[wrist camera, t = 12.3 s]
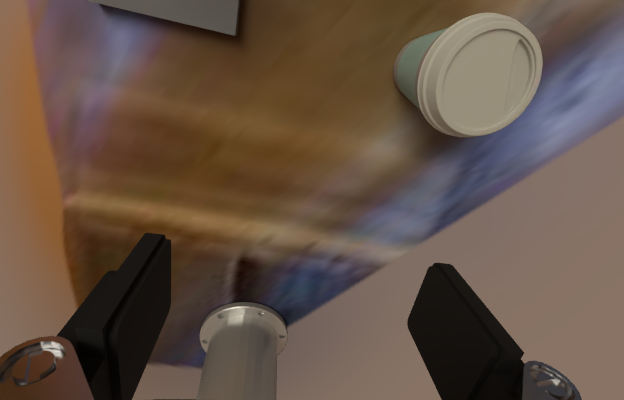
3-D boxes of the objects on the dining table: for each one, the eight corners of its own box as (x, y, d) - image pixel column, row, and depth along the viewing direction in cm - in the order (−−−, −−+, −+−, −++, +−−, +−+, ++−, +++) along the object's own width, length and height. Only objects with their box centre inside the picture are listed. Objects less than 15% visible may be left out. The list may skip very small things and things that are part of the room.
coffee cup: (430, 123, 35) (494, 161, 25) (364, 89, 33) (404, 113, 22) (479, 46, 32) (577, 51, 21) (410, 2, 30) (482, -18, 19)
